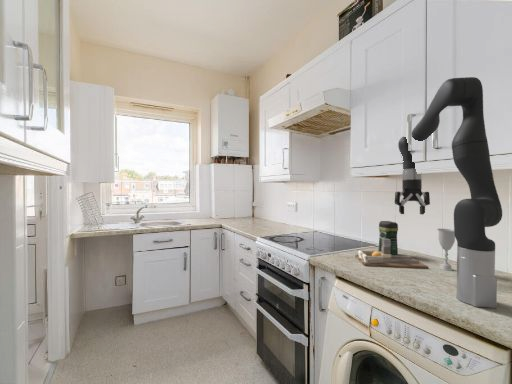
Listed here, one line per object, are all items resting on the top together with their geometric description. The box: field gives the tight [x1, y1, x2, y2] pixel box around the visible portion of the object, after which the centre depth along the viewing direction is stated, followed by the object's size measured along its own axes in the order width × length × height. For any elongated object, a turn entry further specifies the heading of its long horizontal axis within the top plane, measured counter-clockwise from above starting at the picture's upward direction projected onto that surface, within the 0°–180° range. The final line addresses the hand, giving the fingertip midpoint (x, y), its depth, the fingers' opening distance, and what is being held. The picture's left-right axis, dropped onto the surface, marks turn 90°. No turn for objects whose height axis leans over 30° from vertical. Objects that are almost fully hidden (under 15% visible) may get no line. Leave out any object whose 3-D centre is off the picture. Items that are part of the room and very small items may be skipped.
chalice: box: [437, 228, 456, 272], centre depth 114 cm, size 7×7×18 cm
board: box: [355, 249, 429, 270], centre depth 124 cm, size 16×28×4 cm, turn 83°
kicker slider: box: [378, 238, 391, 259], centre depth 124 cm, size 5×4×10 cm
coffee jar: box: [377, 220, 399, 256], centre depth 140 cm, size 10×8×19 cm
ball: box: [372, 251, 381, 256], centre depth 124 cm, size 4×4×4 cm
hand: (412, 214), depth 115 cm, fingers open, 8 cm apart
